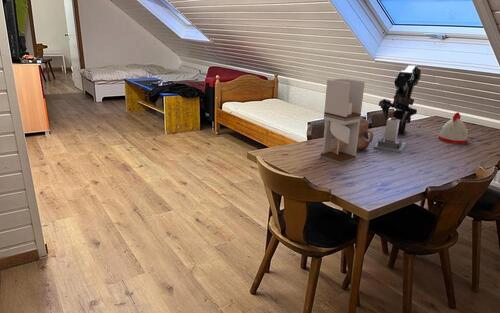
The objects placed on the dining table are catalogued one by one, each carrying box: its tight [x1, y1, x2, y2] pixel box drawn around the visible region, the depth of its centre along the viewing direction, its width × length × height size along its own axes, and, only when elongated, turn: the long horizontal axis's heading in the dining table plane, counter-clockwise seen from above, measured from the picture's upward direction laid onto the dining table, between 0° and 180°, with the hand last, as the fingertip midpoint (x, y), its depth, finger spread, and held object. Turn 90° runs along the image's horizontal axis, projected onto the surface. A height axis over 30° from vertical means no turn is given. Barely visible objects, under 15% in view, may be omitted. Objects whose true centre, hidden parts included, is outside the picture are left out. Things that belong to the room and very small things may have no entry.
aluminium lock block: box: [384, 117, 400, 143], centre depth 196 cm, size 5×5×14 cm
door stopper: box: [360, 115, 370, 141], centre depth 209 cm, size 9×6×12 cm, turn 40°
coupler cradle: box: [373, 136, 407, 153], centre depth 199 cm, size 16×13×4 cm
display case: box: [319, 77, 366, 165], centre depth 173 cm, size 11×11×35 cm
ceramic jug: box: [356, 118, 374, 152], centre depth 191 cm, size 18×14×14 cm
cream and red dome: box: [437, 111, 469, 144], centre depth 212 cm, size 14×14×15 cm
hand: (393, 122), depth 205 cm, fingers open, 9 cm apart
